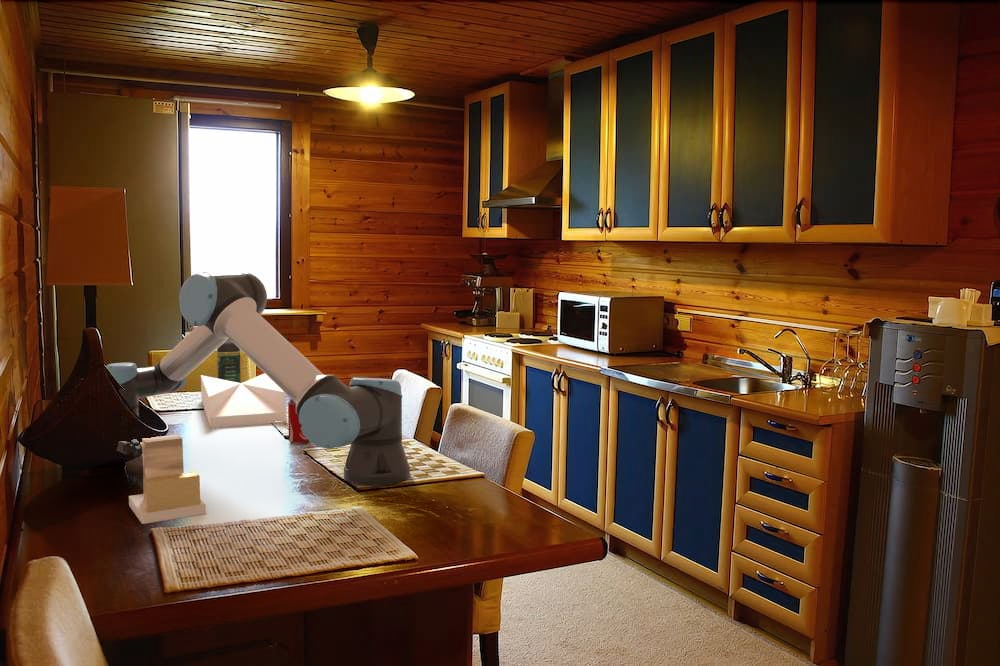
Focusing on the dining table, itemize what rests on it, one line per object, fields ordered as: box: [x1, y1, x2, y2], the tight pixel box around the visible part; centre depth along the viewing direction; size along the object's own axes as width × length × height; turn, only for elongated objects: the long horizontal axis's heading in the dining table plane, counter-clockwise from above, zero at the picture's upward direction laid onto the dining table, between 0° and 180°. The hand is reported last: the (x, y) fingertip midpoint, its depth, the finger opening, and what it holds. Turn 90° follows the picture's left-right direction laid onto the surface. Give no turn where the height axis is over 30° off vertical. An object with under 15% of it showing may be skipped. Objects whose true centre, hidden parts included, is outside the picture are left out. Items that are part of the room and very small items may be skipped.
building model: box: [200, 372, 288, 428], centre depth 279 cm, size 45×22×10 cm, turn 22°
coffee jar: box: [216, 340, 242, 383], centre depth 314 cm, size 10×8×19 cm
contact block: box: [142, 471, 201, 513], centre depth 171 cm, size 3×10×6 cm, turn 123°
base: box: [128, 493, 207, 525], centre depth 176 cm, size 14×12×2 cm
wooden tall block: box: [142, 434, 185, 479], centre depth 177 cm, size 5×7×12 cm, turn 122°
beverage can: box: [287, 398, 311, 445], centre depth 235 cm, size 6×6×12 cm
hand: (149, 453), depth 189 cm, fingers closed
